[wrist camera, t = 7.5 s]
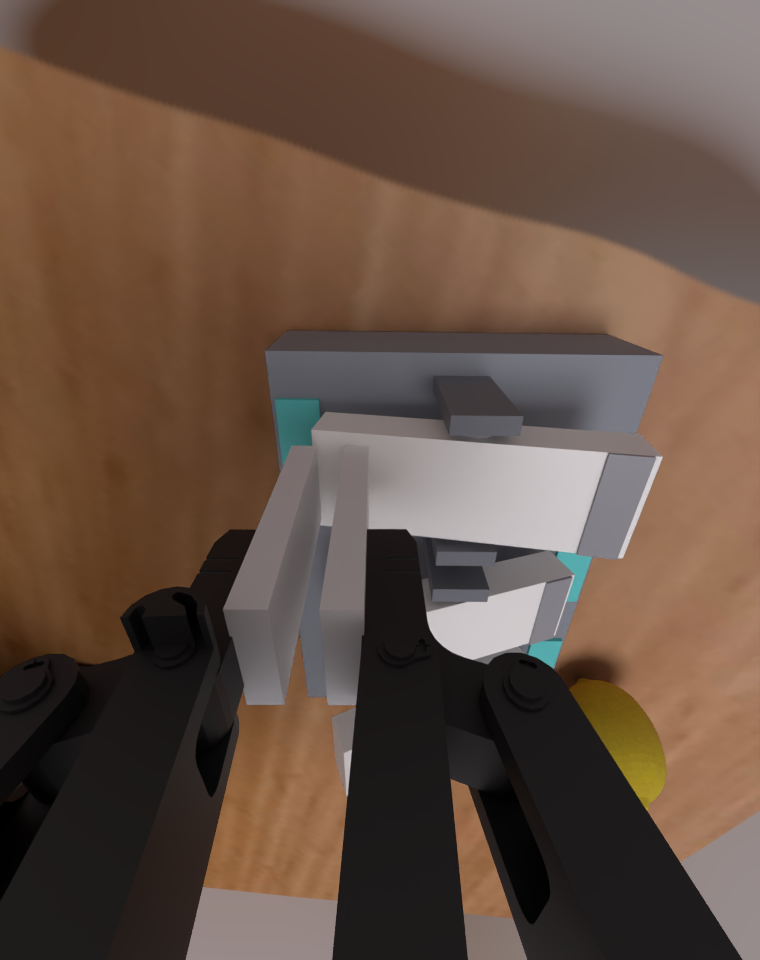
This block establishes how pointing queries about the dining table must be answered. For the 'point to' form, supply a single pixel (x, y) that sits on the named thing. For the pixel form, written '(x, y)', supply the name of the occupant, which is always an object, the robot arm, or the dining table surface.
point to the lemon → (625, 735)
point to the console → (454, 425)
